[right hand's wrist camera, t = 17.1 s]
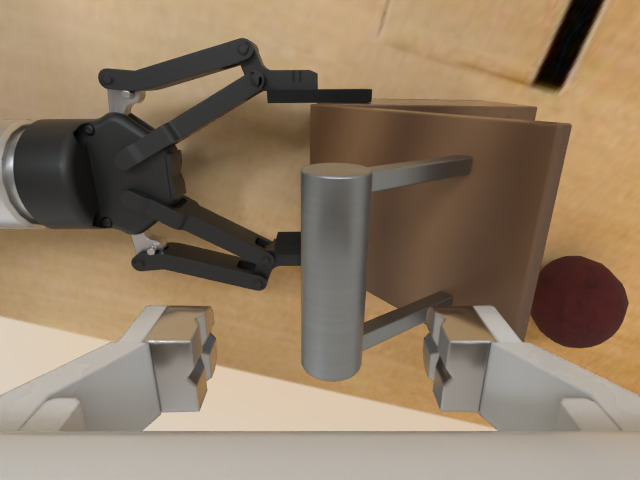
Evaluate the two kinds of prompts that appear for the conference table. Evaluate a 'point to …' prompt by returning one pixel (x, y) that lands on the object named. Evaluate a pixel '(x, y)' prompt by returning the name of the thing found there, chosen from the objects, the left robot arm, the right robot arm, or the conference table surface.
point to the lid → (418, 222)
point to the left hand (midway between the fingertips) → (366, 173)
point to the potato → (578, 302)
